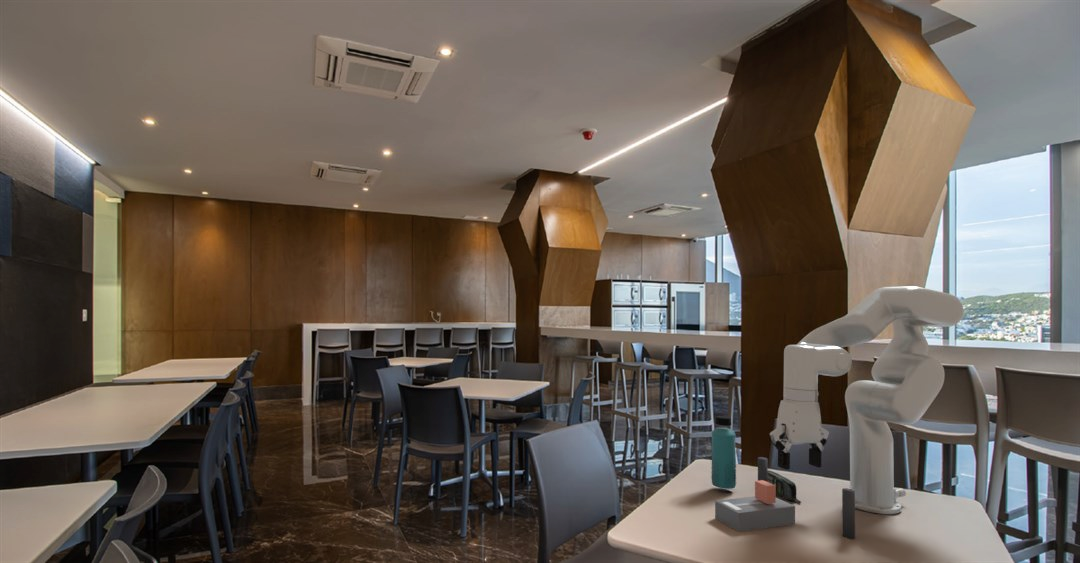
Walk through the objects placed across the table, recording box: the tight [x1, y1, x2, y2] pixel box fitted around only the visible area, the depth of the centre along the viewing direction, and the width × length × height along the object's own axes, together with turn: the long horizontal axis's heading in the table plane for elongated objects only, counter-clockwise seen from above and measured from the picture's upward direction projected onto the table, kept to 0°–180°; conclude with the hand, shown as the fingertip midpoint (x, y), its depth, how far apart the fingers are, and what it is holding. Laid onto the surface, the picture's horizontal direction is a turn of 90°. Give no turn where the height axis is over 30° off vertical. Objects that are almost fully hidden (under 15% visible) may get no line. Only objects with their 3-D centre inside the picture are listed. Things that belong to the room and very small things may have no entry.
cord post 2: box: [841, 487, 856, 540], centre depth 117 cm, size 2×2×10 cm
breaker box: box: [714, 495, 796, 532], centre depth 125 cm, size 16×8×4 cm, turn 109°
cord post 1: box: [757, 456, 769, 482], centre depth 142 cm, size 2×2×10 cm
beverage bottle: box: [710, 415, 737, 490], centre depth 146 cm, size 6×7×20 cm
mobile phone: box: [768, 469, 802, 504], centre depth 144 cm, size 5×3×15 cm
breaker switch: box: [754, 480, 777, 504], centre depth 126 cm, size 2×4×4 cm, turn 20°
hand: (799, 467), depth 130 cm, fingers open, 9 cm apart
